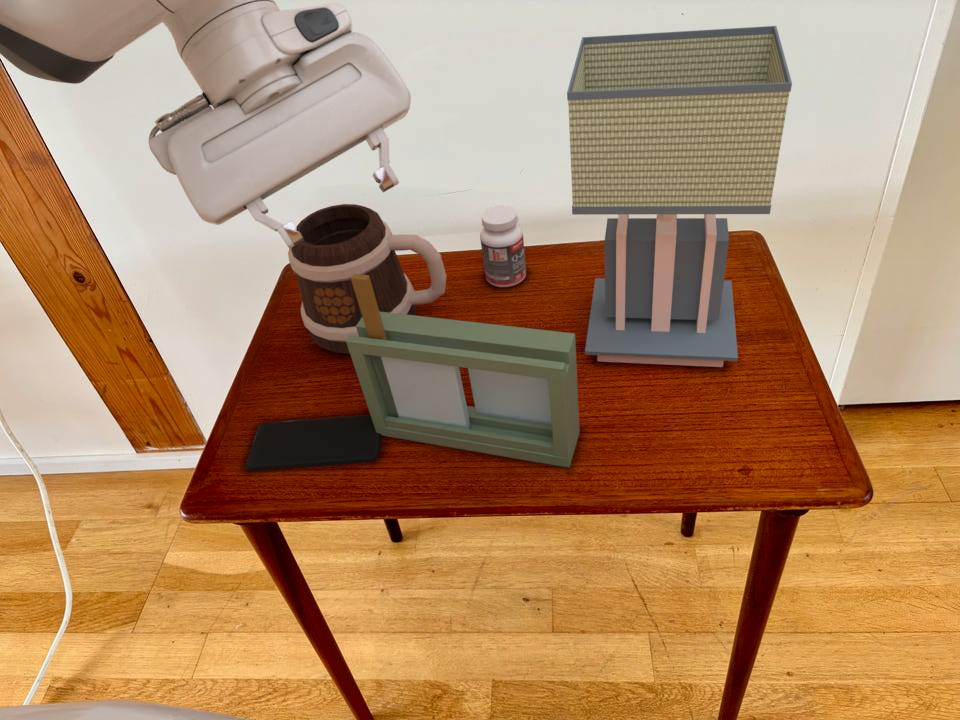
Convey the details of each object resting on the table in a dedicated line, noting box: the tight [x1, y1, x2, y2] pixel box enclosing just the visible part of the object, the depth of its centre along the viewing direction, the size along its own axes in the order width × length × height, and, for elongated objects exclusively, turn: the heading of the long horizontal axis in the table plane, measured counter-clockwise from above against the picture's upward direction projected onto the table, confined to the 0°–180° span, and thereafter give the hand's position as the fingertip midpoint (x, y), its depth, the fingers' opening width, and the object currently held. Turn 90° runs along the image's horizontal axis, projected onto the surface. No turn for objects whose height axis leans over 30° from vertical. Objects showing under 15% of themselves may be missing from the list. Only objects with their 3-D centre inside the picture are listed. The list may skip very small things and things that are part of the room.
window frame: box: [346, 312, 581, 469], centre depth 73 cm, size 5×22×14 cm, turn 72°
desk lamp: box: [566, 25, 793, 368], centre depth 76 cm, size 18×14×33 cm
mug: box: [287, 203, 448, 355], centre depth 90 cm, size 20×15×15 cm
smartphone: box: [245, 414, 383, 472], centre depth 80 cm, size 7×1×15 cm
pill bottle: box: [479, 204, 527, 288], centre depth 95 cm, size 6×6×10 cm
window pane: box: [351, 274, 471, 429], centre depth 71 cm, size 1×9×19 cm, turn 72°
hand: (344, 215), depth 61 cm, fingers open, 8 cm apart
